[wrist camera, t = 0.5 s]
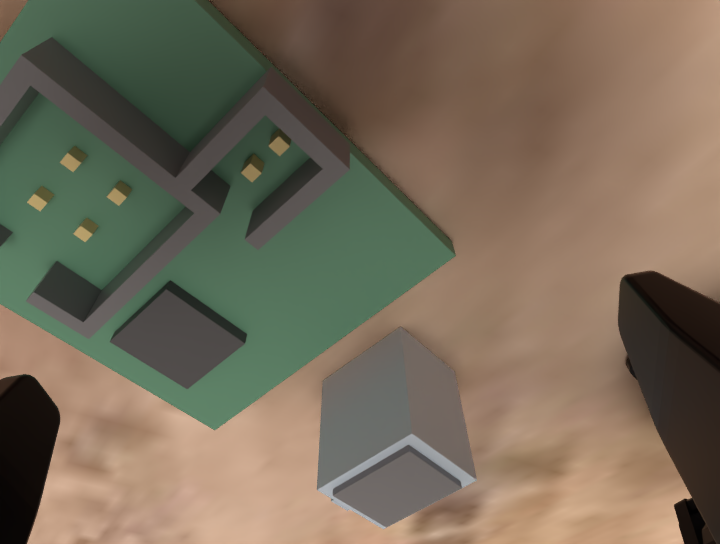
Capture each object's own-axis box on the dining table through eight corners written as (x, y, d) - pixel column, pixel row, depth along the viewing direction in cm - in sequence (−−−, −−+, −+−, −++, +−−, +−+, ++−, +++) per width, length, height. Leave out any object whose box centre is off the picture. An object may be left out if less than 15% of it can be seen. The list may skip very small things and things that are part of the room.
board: (455, 239, 23) (468, 283, 21) (218, 414, 29) (206, 464, 27) (111, -106, 16) (68, -101, 14) (-108, 216, 22) (-165, 259, 20)
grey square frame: (230, 186, 21) (220, 213, 19) (106, 306, 24) (88, 339, 22) (51, 37, 18) (20, 54, 16) (-64, 197, 21) (-99, 226, 19)
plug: (454, 371, 28) (478, 487, 22) (368, 425, 30) (371, 541, 25) (400, 326, 26) (412, 440, 21) (313, 387, 28) (304, 503, 23)
